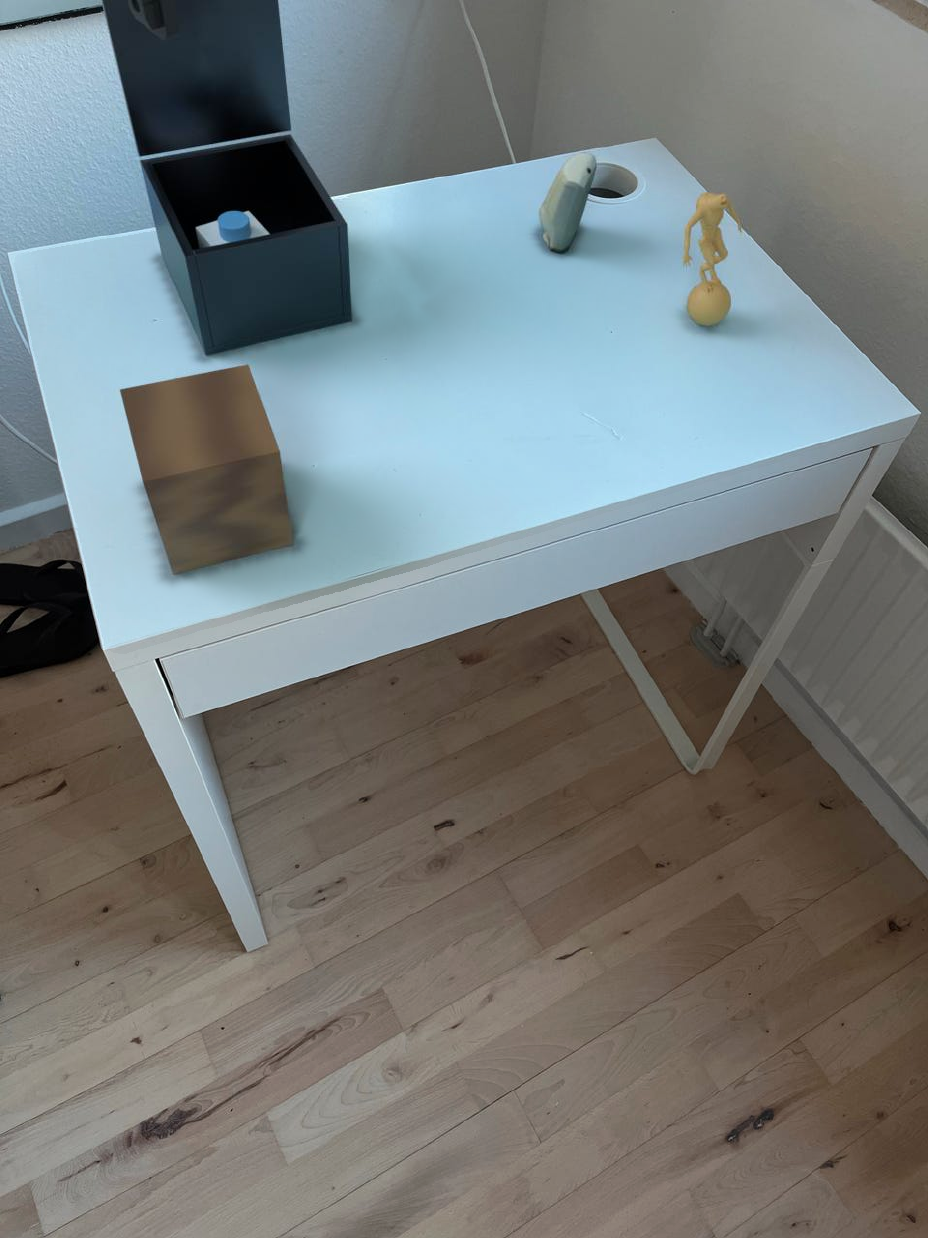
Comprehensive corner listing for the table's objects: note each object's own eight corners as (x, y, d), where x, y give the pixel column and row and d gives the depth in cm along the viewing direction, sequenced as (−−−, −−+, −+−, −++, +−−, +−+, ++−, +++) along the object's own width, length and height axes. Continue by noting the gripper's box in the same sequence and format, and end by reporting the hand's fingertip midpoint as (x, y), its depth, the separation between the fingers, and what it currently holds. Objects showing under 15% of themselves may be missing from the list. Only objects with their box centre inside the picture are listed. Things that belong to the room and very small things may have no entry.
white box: (234, 330, 83) (219, 244, 76) (209, 298, 85) (192, 212, 78) (284, 311, 85) (274, 226, 78) (258, 281, 87) (246, 195, 80)
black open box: (352, 321, 86) (347, 223, 78) (205, 356, 82) (185, 257, 74) (299, 231, 93) (290, 133, 85) (162, 259, 89) (139, 159, 81)
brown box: (173, 574, 69) (142, 481, 60) (150, 487, 73) (119, 389, 65) (293, 545, 71) (280, 451, 63) (264, 461, 75) (248, 363, 67)
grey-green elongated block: (596, 255, 94) (611, 179, 87) (546, 259, 93) (558, 183, 86) (578, 221, 97) (592, 145, 90) (530, 225, 96) (540, 149, 89)
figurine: (693, 350, 86) (731, 232, 76) (642, 318, 88) (673, 199, 79) (745, 312, 90) (788, 195, 80) (695, 282, 92) (731, 165, 82)
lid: (271, -73, 72) (253, -93, 74) (89, -53, 68) (77, -75, 70) (291, 130, 84) (276, 107, 86) (139, 156, 80) (127, 132, 83)
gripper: (274, -522, 37) (306, -52, 51) (-74, -511, 31) (66, 18, 45) (397, -487, 34) (396, 1, 48) (38, -468, 28) (152, 83, 42)
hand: (236, 9), depth 46 cm, fingers open, 8 cm apart
